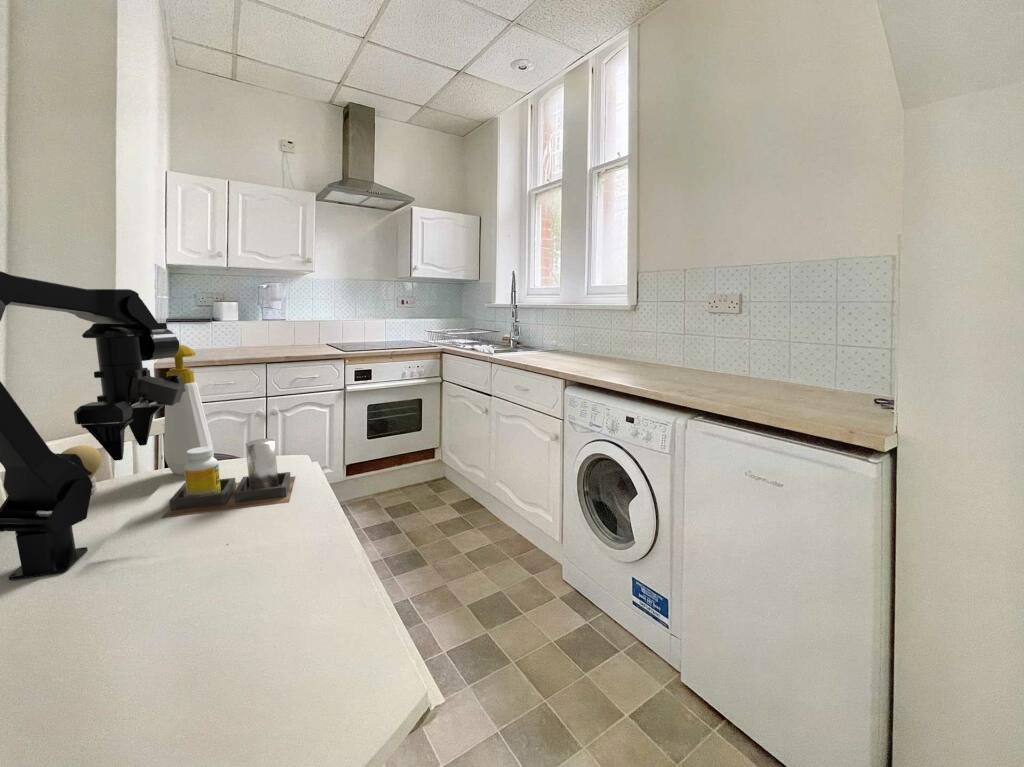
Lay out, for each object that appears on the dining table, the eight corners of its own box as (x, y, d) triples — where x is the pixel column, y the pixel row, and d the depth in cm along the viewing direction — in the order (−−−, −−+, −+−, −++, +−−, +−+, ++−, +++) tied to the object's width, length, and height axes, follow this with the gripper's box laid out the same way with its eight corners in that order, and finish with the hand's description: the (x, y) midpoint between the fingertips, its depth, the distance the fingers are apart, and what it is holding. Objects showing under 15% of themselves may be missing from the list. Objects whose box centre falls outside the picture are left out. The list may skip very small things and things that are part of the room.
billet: (277, 494, 90) (273, 444, 89) (247, 498, 89) (243, 447, 87) (280, 485, 95) (276, 437, 93) (252, 488, 93) (248, 440, 92)
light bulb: (85, 501, 90) (78, 451, 89) (53, 500, 90) (45, 451, 89) (114, 488, 97) (107, 441, 95) (84, 488, 97) (76, 441, 95)
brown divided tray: (289, 509, 87) (288, 491, 87) (161, 526, 80) (159, 507, 80) (296, 482, 100) (294, 467, 100) (186, 495, 93) (184, 478, 93)
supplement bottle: (186, 497, 89) (180, 448, 87) (219, 490, 92) (214, 443, 90) (189, 507, 85) (183, 456, 83) (223, 499, 88) (218, 450, 86)
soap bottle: (147, 477, 103) (129, 345, 98) (199, 464, 111) (185, 342, 106) (172, 490, 96) (155, 348, 91) (225, 475, 104) (212, 345, 99)
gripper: (153, 368, 73) (164, 464, 76) (194, 357, 91) (201, 435, 93) (65, 370, 70) (79, 471, 72) (125, 359, 88) (134, 439, 90)
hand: (131, 452), depth 82 cm, fingers open, 9 cm apart
